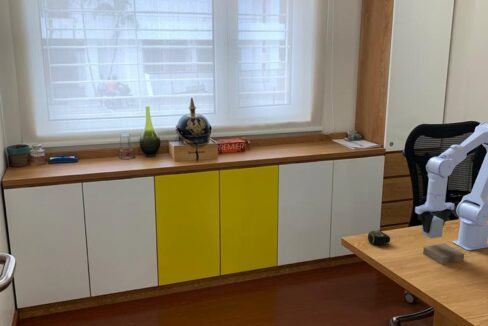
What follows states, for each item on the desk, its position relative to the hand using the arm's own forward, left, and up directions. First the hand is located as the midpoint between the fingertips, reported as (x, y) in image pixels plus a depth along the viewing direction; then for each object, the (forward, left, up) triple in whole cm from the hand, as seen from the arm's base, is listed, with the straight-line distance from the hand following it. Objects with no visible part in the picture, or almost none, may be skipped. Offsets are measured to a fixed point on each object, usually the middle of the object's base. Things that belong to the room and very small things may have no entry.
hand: (432, 231), depth 166 cm
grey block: (0, 0, -2) cm, 2 cm away
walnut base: (-2, +4, -9) cm, 10 cm away
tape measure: (+11, -14, -9) cm, 20 cm away
